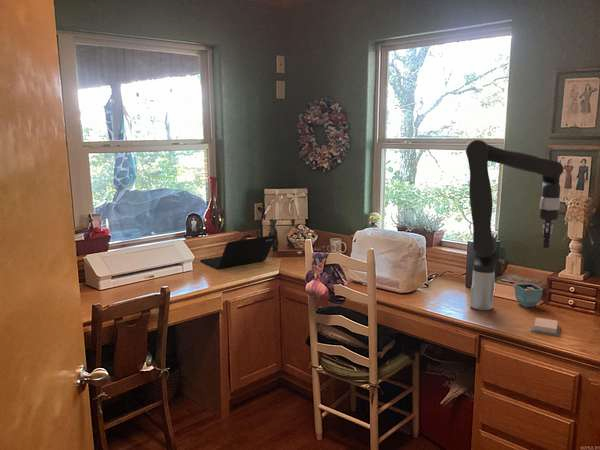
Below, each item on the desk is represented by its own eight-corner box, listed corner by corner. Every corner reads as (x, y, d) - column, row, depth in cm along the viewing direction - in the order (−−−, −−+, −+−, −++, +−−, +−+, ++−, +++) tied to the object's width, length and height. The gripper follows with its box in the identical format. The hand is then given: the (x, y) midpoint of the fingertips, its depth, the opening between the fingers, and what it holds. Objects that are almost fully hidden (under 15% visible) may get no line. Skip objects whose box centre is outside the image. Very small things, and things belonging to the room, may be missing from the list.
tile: (535, 322, 210) (533, 330, 201) (536, 317, 210) (534, 325, 201) (557, 325, 206) (556, 333, 197) (557, 320, 206) (556, 329, 197)
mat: (530, 331, 201) (530, 330, 201) (532, 323, 210) (532, 322, 210) (558, 335, 197) (559, 334, 196) (559, 327, 205) (559, 326, 205)
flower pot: (541, 308, 228) (543, 289, 226) (523, 309, 226) (525, 290, 225) (530, 301, 236) (531, 283, 235) (512, 303, 235) (514, 284, 233)
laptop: (246, 254, 332) (245, 225, 329) (277, 266, 302) (277, 234, 299) (199, 262, 313) (198, 231, 310) (228, 275, 283) (226, 241, 280)
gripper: (540, 205, 222) (537, 243, 225) (538, 209, 211) (535, 249, 214) (559, 206, 219) (556, 245, 222) (558, 210, 207) (555, 251, 211)
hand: (546, 247), depth 218 cm, fingers closed
